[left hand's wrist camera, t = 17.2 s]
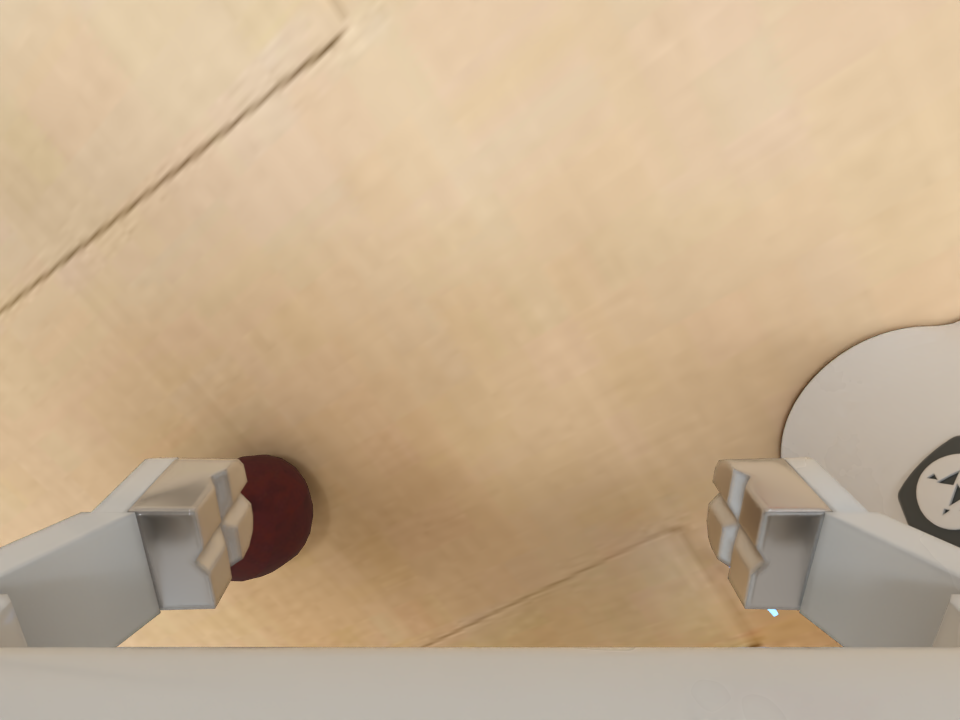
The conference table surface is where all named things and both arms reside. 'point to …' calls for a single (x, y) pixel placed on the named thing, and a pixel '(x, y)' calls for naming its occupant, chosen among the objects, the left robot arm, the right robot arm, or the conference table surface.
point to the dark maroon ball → (273, 515)
